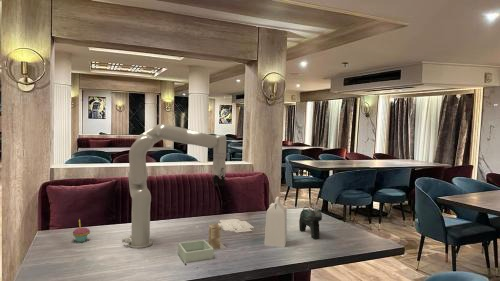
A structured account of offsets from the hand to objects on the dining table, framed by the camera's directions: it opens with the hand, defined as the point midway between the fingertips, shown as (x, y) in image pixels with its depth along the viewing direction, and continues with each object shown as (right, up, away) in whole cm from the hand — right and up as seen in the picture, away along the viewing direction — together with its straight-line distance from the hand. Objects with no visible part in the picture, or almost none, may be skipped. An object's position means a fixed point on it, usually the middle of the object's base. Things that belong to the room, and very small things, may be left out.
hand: (219, 184), depth 201 cm
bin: (-9, -32, -34) cm, 48 cm away
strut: (-1, -30, -21) cm, 37 cm away
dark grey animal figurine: (+55, -33, +7) cm, 64 cm away
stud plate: (-1, -32, -21) cm, 38 cm away
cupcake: (-75, -30, -15) cm, 82 cm away
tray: (+9, -31, +21) cm, 38 cm away
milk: (+33, -33, -9) cm, 47 cm away
